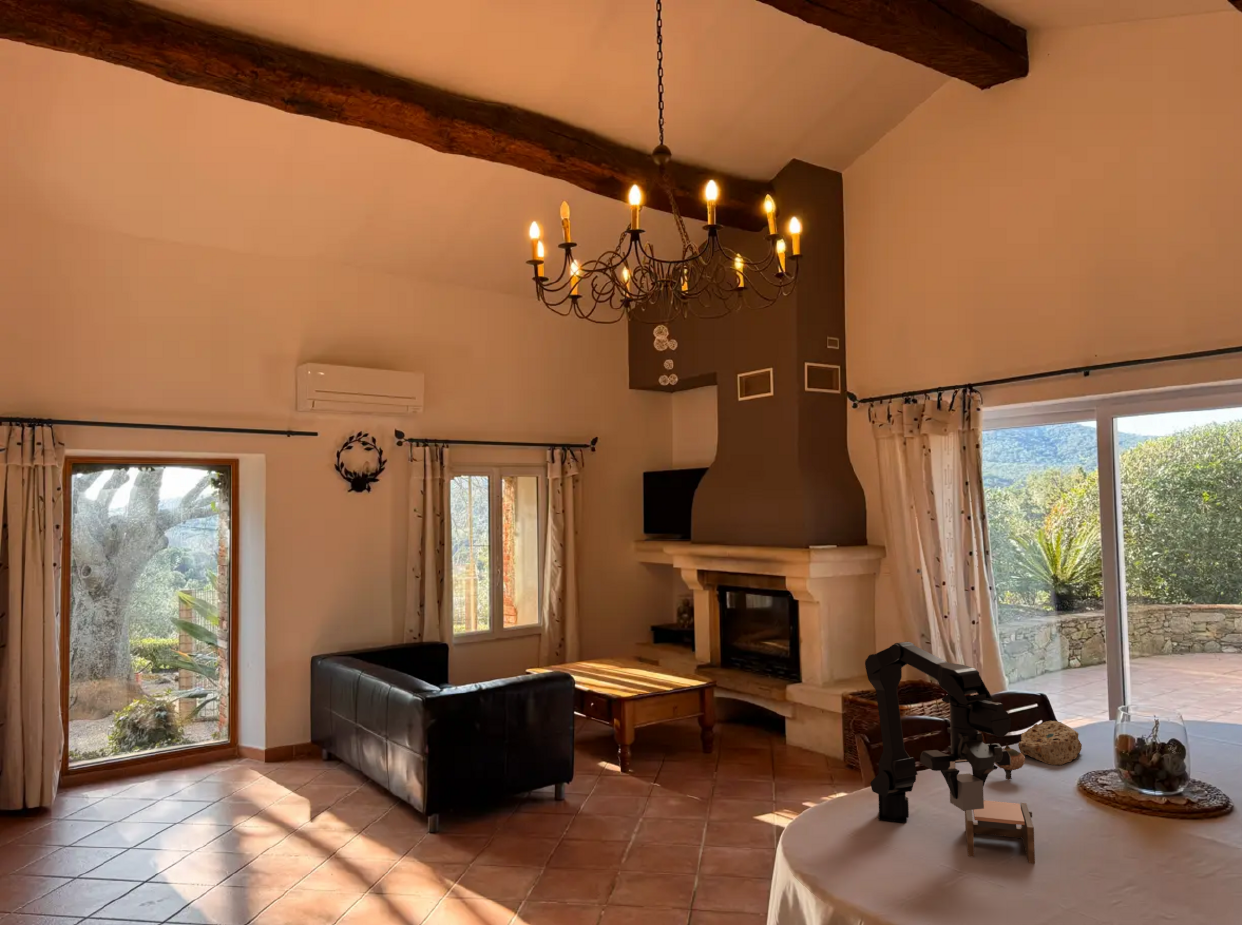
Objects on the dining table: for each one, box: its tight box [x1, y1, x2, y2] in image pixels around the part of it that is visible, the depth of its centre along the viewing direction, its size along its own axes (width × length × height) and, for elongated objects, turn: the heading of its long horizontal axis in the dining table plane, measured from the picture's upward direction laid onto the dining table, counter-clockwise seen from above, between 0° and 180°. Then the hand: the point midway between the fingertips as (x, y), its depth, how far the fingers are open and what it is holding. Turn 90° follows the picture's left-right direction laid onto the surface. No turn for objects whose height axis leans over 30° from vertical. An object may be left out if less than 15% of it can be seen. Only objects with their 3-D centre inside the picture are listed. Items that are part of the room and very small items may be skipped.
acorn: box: [994, 742, 1026, 781], centre depth 236 cm, size 8×8×10 cm
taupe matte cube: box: [949, 773, 984, 812], centre depth 190 cm, size 5×5×6 cm
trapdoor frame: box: [964, 802, 1036, 865], centre depth 193 cm, size 14×15×8 cm
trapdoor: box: [972, 800, 1025, 830], centre depth 193 cm, size 10×11×5 cm
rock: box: [1018, 720, 1083, 766], centre depth 258 cm, size 21×14×10 cm
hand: (966, 797), depth 190 cm, fingers closed on taupe matte cube, 5 cm apart
